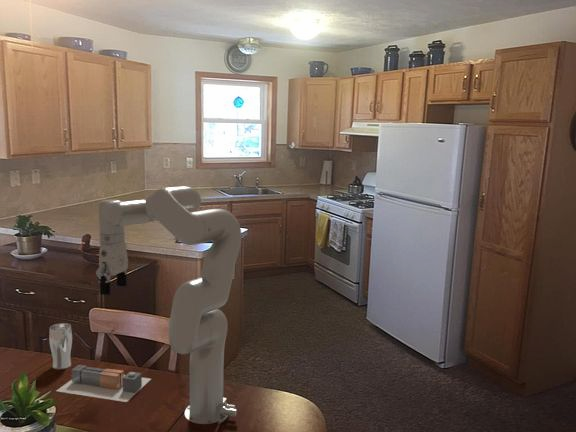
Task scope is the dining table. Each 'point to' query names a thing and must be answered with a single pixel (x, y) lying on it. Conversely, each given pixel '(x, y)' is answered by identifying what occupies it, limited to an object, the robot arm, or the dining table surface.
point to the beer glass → (61, 345)
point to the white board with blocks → (123, 393)
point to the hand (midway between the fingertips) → (113, 290)
